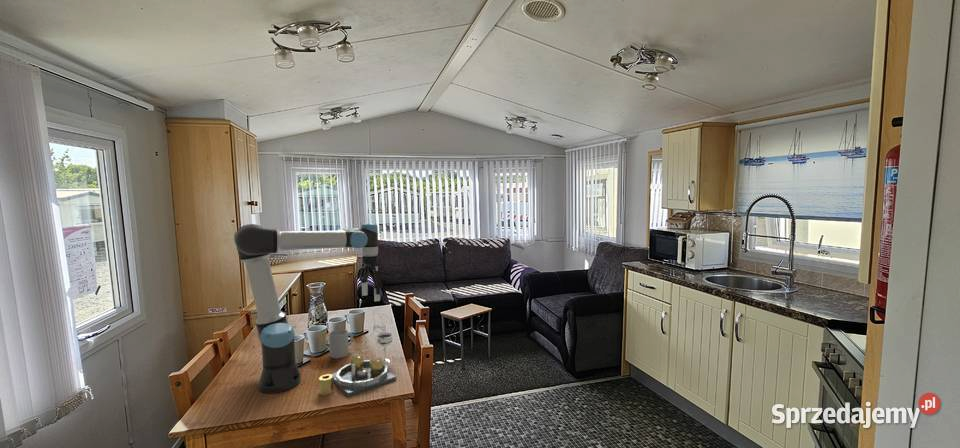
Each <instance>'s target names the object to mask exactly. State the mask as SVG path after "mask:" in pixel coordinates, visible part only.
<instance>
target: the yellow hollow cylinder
mask: <svg viewBox="0 0 960 448" xmlns="http://www.w3.org/2000/svg"><path fill="white" fill-rule="evenodd" d="M332 374H333V373H326V374H322V375H320V377H318V389H319V390H318V392H319V395H320V396H329V395H331V394H332V393H334V391H335V389H334V388H335V386H334V382H333V376H332Z"/></svg>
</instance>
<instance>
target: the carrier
mask: <svg viewBox="0 0 960 448" xmlns="http://www.w3.org/2000/svg"><path fill="white" fill-rule="evenodd" d="M382 359H383V358H382V357H377V356H375V357H372V358H371V359H367V360H364V356H363V355H362V354H358V353H355V354H353V355H352V356H351V357H350V363H349V364H348V363H347V364H345V365H344V366H343V367H341V368H340V369H338V370H337V371H335V372H334V373H331V374H332V376H333V384H335V385H336V386H337V387H338V388H339V389H340V390H341V392H343V393H344V395H345V396H346V397H352V396H355V395H358V394H360V393H363V392H366V391H369V390H371V389H374V388H377V387H381V386H383V385H387V384H389V383H391V382H394V380H395V381H397V376H396V375H395V374H393V372H391V371H390V370H389V369H388V365H387V363H383V362H382Z"/></svg>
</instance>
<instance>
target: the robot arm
mask: <svg viewBox="0 0 960 448" xmlns="http://www.w3.org/2000/svg"><path fill="white" fill-rule="evenodd" d="M233 240H234V244H235V246H236V251H237V254H238V259H239V261H241V262H242V263H244V265H245V268H246V272H247V276H248V279H249V280H248V281H249V285H250V288H251V293H252V296H253V301H254V305H255V309H256V313H257V319H256V320H255V325H256V331H257V337H258V339H259V343H260V346H261V355H262V358H261V359H262V370H261V373H260V377H259V381H258V390H259V391H260V392H262V393H264V394H276V393H282V392H286V391H288V390H291V389H293V388H295V387H297V386H298V385H299V384H300V383H301V381H302V373H301V372H300V369H299V367H298V365H297V361H296V347H295V345H296V344H295V334H296V333H295V330H294V327H293V325H292V324H290V323H289V322H288V318H287V315H286V312H284V311H282V310H281V307H280V305H281V304H280V302H279V298H278V294H277V289H276V286H275V285H276V284H275V280H274V277H273V272H272V268H271V263H270V259H269V258H270V257H271V255H272V254H277V253H279V252H280V251H296V250H299V251H300V250H302V251H303V250H321V249H324V250H325V249H342V248H346V249H349V248H351V249H353V248H354V249H361V255H362V257H361V269H360V275H359V279H358V280H359V282H361V296H362V297H364V296H365V297H366V296H368V295H369V293H368V291H369V289H368V288H369V287H368V279H369V277H371V280H372V282H373V285H374V287H373V297H374V299H373V301H374V302H380V301H381V288H382V287H383V286H384V285H383V281H382V277H381V273H380V267H379V266H376V264H378V263H379V255H378V254H379V230H378V224H376V223H372V222H370V223H369V222H367V223H366V222H365V223H362V224H361V227H356V228H355V227H353V228H337V229H336V230H297V231H296V230H295V231H294V230H293V231H291V230H290V231H289V230H288V231H287V230H286V231H280V229H278V228H265V227H262V226H260V225H258V224H253V223H250V224H245V225H242V226H240V227H239V228H238V229H236V232H235V233H234V237H233Z"/></svg>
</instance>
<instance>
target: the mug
mask: <svg viewBox="0 0 960 448" xmlns="http://www.w3.org/2000/svg"><path fill="white" fill-rule="evenodd" d="M349 336H350V341H349ZM328 341H329V344H328V345H329V347H328V348H329V357H330V358H331V359H334V360H335V359H342V358H346V357H347V356H348V355H349V352H350V351H349V346H351V345H352V344H353V342H354V335H353V333H352V332H351V331H348V330H346V329H341V328H340V329H334V330H331V331H330V332H329V334H328Z"/></svg>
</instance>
